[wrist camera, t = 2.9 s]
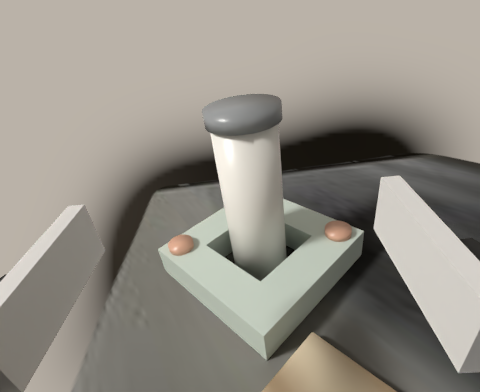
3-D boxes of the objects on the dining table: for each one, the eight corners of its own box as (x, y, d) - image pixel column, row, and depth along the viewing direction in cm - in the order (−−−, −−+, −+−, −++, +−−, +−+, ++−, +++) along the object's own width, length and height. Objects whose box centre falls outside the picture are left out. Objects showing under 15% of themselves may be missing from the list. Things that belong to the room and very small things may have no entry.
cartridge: (259, 236, 34) (241, 91, 26) (302, 259, 30) (297, 98, 22) (220, 266, 31) (186, 111, 22) (263, 296, 27) (240, 123, 19)
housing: (257, 207, 39) (254, 183, 37) (361, 254, 30) (364, 226, 28) (165, 270, 31) (156, 244, 29) (267, 360, 22) (262, 330, 20)
